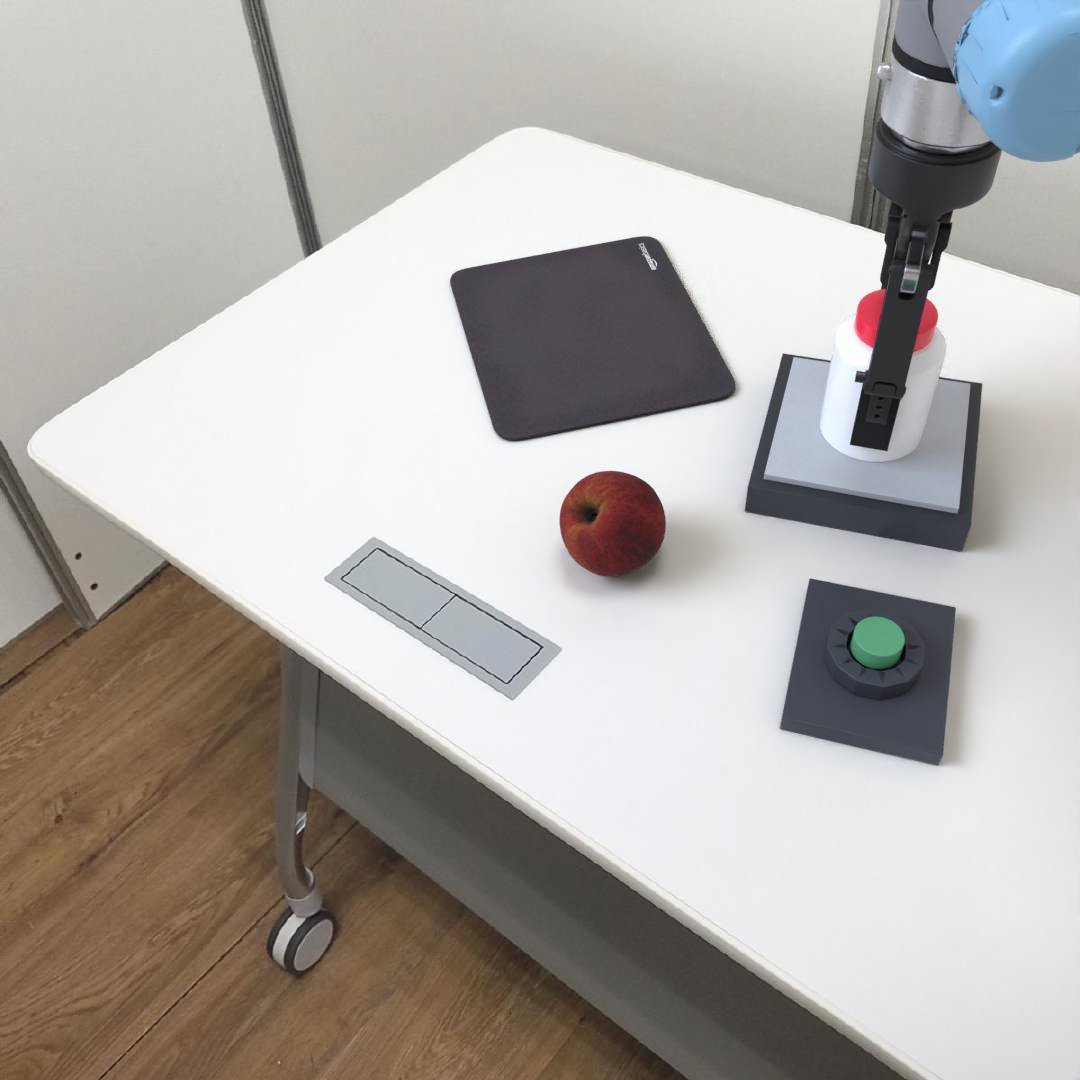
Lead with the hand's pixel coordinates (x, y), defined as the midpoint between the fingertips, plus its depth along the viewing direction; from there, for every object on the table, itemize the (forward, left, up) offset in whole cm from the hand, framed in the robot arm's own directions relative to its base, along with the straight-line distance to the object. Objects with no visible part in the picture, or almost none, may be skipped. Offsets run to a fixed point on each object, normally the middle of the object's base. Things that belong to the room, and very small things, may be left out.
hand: (875, 406), depth 83 cm
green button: (-10, +18, -3) cm, 21 cm away
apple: (+10, +20, -6) cm, 23 cm away
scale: (0, 0, -5) cm, 5 cm away
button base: (-10, +18, -5) cm, 21 cm away
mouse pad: (+28, 0, -6) cm, 29 cm away
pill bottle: (0, 0, -2) cm, 2 cm away
